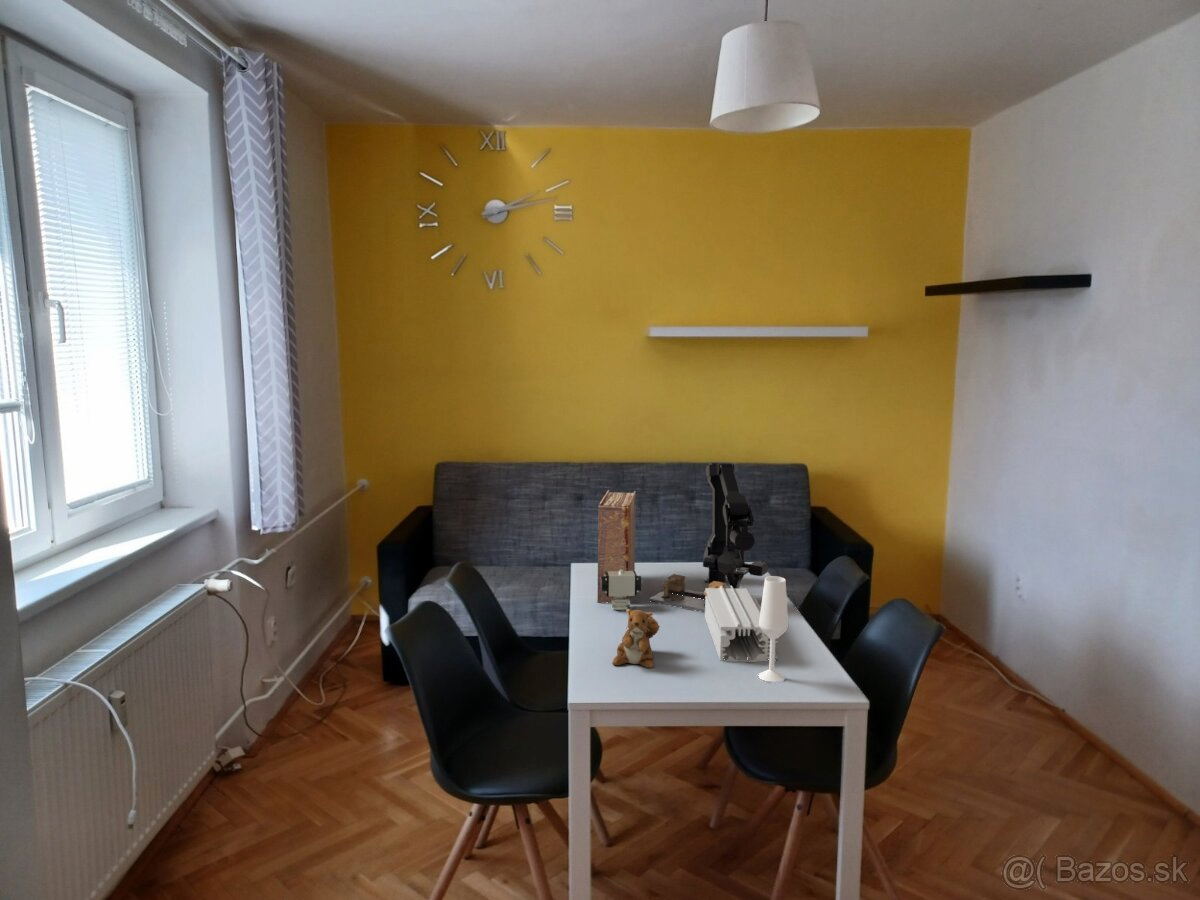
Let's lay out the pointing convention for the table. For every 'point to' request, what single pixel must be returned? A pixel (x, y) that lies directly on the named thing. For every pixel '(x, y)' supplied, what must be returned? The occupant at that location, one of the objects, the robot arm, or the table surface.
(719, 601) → the aluminum extrusion profile
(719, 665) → the table surface
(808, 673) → the table surface
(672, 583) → the fixed leg
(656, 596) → the bolt-hole strip
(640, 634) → the stuffed squirrel
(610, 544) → the book
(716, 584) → the sliding leg
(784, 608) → the champagne flute
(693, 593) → the rail
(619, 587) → the pneumatic valve
